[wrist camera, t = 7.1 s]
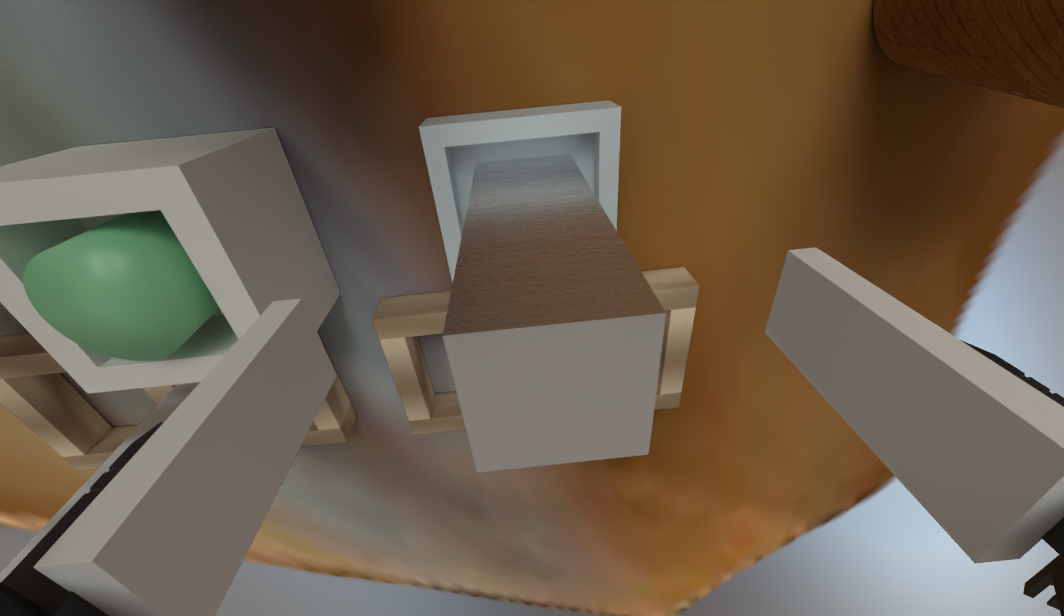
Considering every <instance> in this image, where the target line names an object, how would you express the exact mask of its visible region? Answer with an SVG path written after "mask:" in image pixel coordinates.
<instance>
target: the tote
mask: <svg viewBox="0 0 1064 616" xmlns="http://www.w3.org/2000/svg"><path fill="white" fill-rule="evenodd" d="M620 125H621V107H620V106H618V105H617V104H615V103H613V102H611V101H610V100H607V101H597V102H587V103H577V104H566V105H556V106H546V107H535V108H525V109H515V110H505V111H494V112H484V113H474V114H464V115H453V116H443V117H433V118H426V119H425V121H424V122H423V123H422V124H421V125H420V126H419V131H420V135H421V140H422V144H423V149H424V154H425V158H426V163H427V168H428V172H429V177H430V181H431V186H432V191H433V195H434V200H435V204H436V209H437V214H438V218H439V223H440V228H441V232H442V237H443V241H444V246H445V251H446V255H447V260H448V265H449V269H450V274H451V278H452V283H453V279H454V273H455V268H456V263H457V258H458V253H459V248H460V243H461V237H462V232H463V227H464V222H465V217H466V212H467V207H468V201H469V196H470V191H471V186H472V181H473V176H474V171H475V166H476V163H485V162H495V161H505V160H515V159H525V158H536V157H546V156H556V155H566V154H570V155H571V156H572V158H573V160H574V161H575V163H576V165H577V166H578V168H579V170H580V171H581V173H582V174H583V176H584V178H585V179H586V181H587V183H588V184H589V186H590V188H591V189H592V191H593V193H594V194H595V196H596V198H597V199H598V201H599V203H600V204H601V206H602V208H603V209H604V211H605V213H606V214H607V216H608V217H609V219H610V221H611V222H612V224H613V226H614V227H615V229H616V231H617V205H618V178H619V152H620Z"/></svg>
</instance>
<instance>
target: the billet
mask: <svg viewBox="0 0 1064 616" xmlns="http://www.w3.org/2000/svg"><path fill="white" fill-rule="evenodd" d="M665 318H666V312H665V310H664V308H663V307H662V305H661V303H660V302H659V300H658V298H657V297H656V295H655V294H654V292H653V290H652V289H651V287H650V285H649V284H648V282H647V280H646V279H645V277H644V275H643V274H642V272H641V270H640V269H639V267H638V265H637V264H636V262H635V260H634V259H633V257H632V255H631V254H630V252H629V251H628V249H627V247H626V246H625V244H624V242H623V241H622V239H621V237H620V236H619V234H618V232H617V231H616V229H615V227H614V226H613V224H612V222H611V221H610V219H609V217H608V216H607V214H606V213H605V211H604V209H603V208H602V206H601V204H600V203H599V201H598V199H597V198H596V196H595V194H594V193H593V191H592V189H591V188H590V186H589V184H588V183H587V181H586V179H585V178H584V176H583V174H582V173H581V171H580V170H579V168H578V166H577V165H576V163H575V161H574V160H573V158H572V156H571V155H570V154H566V155H556V156H546V157H536V158H525V159H515V160H505V161H495V162H485V163H476V166H475V171H474V176H473V181H472V186H471V191H470V196H469V201H468V207H467V212H466V217H465V222H464V227H463V232H462V237H461V243H460V248H459V253H458V258H457V263H456V268H455V273H454V279H453V284H452V289H451V294H450V299H449V304H448V309H447V315H446V320H445V325H444V330H443V335H442V337H443V340H444V344H445V348H446V352H447V356H448V360H449V364H450V368H451V372H452V376H453V380H454V384H455V388H456V392H457V396H458V400H459V404H460V408H461V411H462V415H463V419H464V423H465V427H466V431H467V435H468V439H469V443H470V447H471V451H472V455H473V459H474V463H475V467H476V471H477V473H480V472H489V471H498V470H508V469H517V468H527V467H536V466H545V465H555V464H564V463H573V462H583V461H592V460H602V459H611V458H620V457H630V456H639V455H649V447H650V439H651V431H652V423H653V415H654V407H655V399H656V391H657V383H658V375H659V367H660V359H661V351H662V343H663V335H664V327H665Z"/></svg>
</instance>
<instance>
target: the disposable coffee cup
mask: <svg viewBox="0 0 1064 616" xmlns="http://www.w3.org/2000/svg"><path fill="white" fill-rule="evenodd" d="M873 17H874V30H875V34H876V39H877V42H878V44H879V45H880V47H881V48H882V50H883V51H884V53H885V54H886V56H887V57H888V58H890V59H891V60H892V61H893V62H894V63H897V64H899V65H902V66H904V67H907V68H913V69H917V70H921V71H925V72H928V73H932V74H936V75H940V76H943V77H947V78H952V79H955V80H959V81H962V82H967V83H970V84H974V85H977V86H982V87H986V88H989V89H992V90H997V91H1001V92H1004V93H1008V94H1011V95H1016V96H1020V97H1023V98H1026V99H1032V100H1035V101H1039V102H1042V103H1046V104H1049V105H1055V106H1058V107H1062V108H1064V0H874V9H873Z"/></svg>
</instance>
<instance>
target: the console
mask: <svg viewBox="0 0 1064 616" xmlns="http://www.w3.org/2000/svg"><path fill="white" fill-rule="evenodd" d="M155 210H161V212H162V213H163V215H164V217H165V218H166V220H167V221H168V223H169V225H170V226H171V228H172V230H173V231H174V233H175V235H176V236H177V238H178V240H179V241H180V243H181V245H182V246H183V248H184V250H185V251H186V253H187V255H188V256H189V258H190V259H191V261H192V263H193V264H194V266H195V268H196V269H197V271H198V273H199V274H200V276H201V278H202V279H203V281H204V283H205V284H206V286H207V288H208V289H209V291H210V293H211V294H212V296H213V298H214V299H215V301H216V302H217V304H218V306H219V307H220V309H219V310H218V311H217V312H215V313H214V314H213V315H212V316H211V317H210V318H209V319H208V320H207V321H206V322H205V323H204V324H203V325H202V326H201V327H200V328H199V329H198V330H197V331H196V332H195V333H194V334H193V335H192V336H191V337H189V338H188V339H187V340H186V341H185V342H184V343H183V344H182V345H181V346H180V347H179V348H178V349H177V350H176V351H175V352H173V353H172V354H170V355H168V356H165V357H163V358H159V359H155V360H146V361H134V360H125V359H119V358H114V357H110V356H107V355H103V354H100V353H98V352H95V351H92V350H90V349H88V348H85V347H83V346H81V345H79V344H77V343H75V342H73V341H72V340H70V339H69V338H67V337H65V336H64V335H62V334H61V333H60V332H58V331H57V330H55V329H54V328H53V327H52V326H51V325H50V324H48V323H47V322H46V321H45V320H44V319H43V318H42V317H41V316H40V314H39V313H38V312H37V311H36V310H35V308H34V307H33V305H32V304H31V302H30V301H29V298H28V296H27V294H26V291H25V288H24V282H23V276H24V270H25V268H26V265H27V264H28V263H29V261H30V260H31V259H32V258H33V257H35V256H36V255H37V254H39V253H41V252H43V251H45V250H47V249H49V248H52V247H54V246H56V245H58V244H60V243H62V242H64V241H67V240H69V239H71V238H73V237H75V236H77V235H80V234H82V233H84V232H86V231H88V230H90V229H92V228H95V227H97V226H99V225H101V224H103V223H105V222H107V221H110V220H112V219H114V218H116V217H118V216H120V215H122V214H125V213H134V212H144V211H155ZM340 294H341V293H340V291H339V288H338V286H337V283H336V281H335V278H334V276H333V273H332V271H331V268H330V266H329V263H328V261H327V258H326V256H325V253H324V251H323V248H322V246H321V243H320V240H319V238H318V235H317V233H316V230H315V228H314V225H313V223H312V220H311V218H310V215H309V213H308V210H307V208H306V205H305V203H304V200H303V198H302V195H301V193H300V190H299V188H298V185H297V183H296V180H295V178H294V175H293V173H292V170H291V168H290V165H289V163H288V160H287V158H286V155H285V153H284V150H283V148H282V145H281V143H280V140H279V138H278V135H277V133H276V130H275V128H264V129H254V130H244V131H233V132H223V133H213V134H203V135H192V136H182V137H172V138H161V139H151V140H141V141H131V142H120V143H110V144H100V145H89V146H79V147H74V148H70V149H67V150H63V151H59V152H55V153H51V154H47V155H43V156H39V157H35V158H31V159H27V160H24V161H20V162H16V163H12V164H8V165H4V166H0V302H1V303H2V305H3V306H4V307H5V308H6V309H7V310H8V311H9V312H10V313H11V314H12V315H13V316H14V317H15V318H16V319H17V320H18V321H19V322H20V323H21V324H22V325H23V327H24V328H25V329H26V330H27V331H28V332H29V333H30V334H31V335H32V336H33V337H34V338H35V339H36V340H37V341H38V342H39V343H40V344H41V345H42V346H43V347H44V349H45V350H46V351H47V352H48V353H49V354H50V355H51V356H52V357H53V358H54V359H55V360H56V361H57V362H58V363H59V364H60V365H61V366H62V367H63V368H64V369H65V371H66V372H67V373H68V374H69V375H70V376H71V377H72V378H73V379H74V380H75V381H76V382H77V383H78V384H79V385H80V386H81V387H82V388H83V389H84V390H85V391H86V392H87V394H88V393H98V392H108V391H117V390H127V389H137V388H146V387H156V386H166V385H175V384H185V383H195V382H201V381H202V380H203V379H204V377H205V376H206V375H207V374H208V373H209V372H210V371H211V370H212V369H213V367H214V366H215V365H216V364H217V363H218V362H219V361H220V360H221V359H222V357H223V356H224V355H225V354H226V353H227V352H228V351H229V350H230V349H231V347H232V346H233V345H234V344H235V343H236V342H237V341H238V340H239V339H240V338H241V336H242V335H243V334H244V333H245V332H246V331H247V330H248V329H249V328H250V326H251V325H252V324H253V323H254V322H255V321H256V320H257V319H258V318H259V316H260V315H261V314H262V313H263V312H264V311H265V310H266V309H267V308H268V306H269V305H270V304H271V303H272V302H273V301H282V300H292V299H302V300H303V302H304V305H305V307H306V309H307V311H308V313H309V316H310V318H311V320H312V322H313V324H314V327H315V329H316V331H318V329H319V327H320V326H321V324H322V323H323V321H324V319H325V318H326V316H327V315H328V313H329V311H330V310H331V308H332V307H333V305H334V303H335V302H336V300H337V299H338V297H339V295H340Z"/></svg>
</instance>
